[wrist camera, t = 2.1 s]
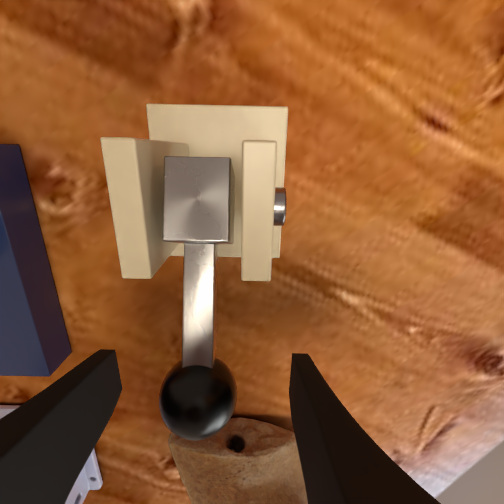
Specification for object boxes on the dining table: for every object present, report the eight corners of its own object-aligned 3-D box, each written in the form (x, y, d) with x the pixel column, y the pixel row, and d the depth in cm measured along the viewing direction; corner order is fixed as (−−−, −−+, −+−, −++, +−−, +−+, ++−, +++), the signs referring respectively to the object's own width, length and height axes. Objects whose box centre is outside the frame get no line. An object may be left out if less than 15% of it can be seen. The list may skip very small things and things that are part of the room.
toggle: (238, 411, 12) (233, 462, 9) (171, 409, 12) (145, 460, 9) (242, 178, 12) (239, 154, 9) (175, 176, 12) (151, 152, 9)
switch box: (278, 252, 17) (296, 328, 10) (166, 250, 17) (100, 324, 10) (286, 109, 14) (320, 65, 7) (152, 106, 14) (47, 59, 7)
